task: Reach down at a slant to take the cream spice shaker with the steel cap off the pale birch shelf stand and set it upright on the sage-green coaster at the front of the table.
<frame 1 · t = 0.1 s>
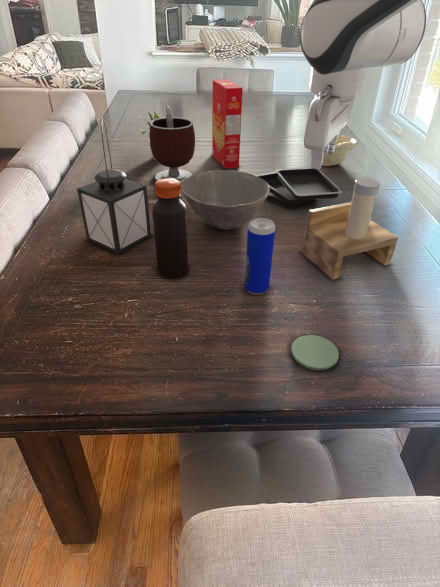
hand: (322, 160, 80), 24 cm above the table, tool pointing down, fingers open, 8 cm apart
mate gourd: (174, 177, 135), on the table
coaster: (314, 353, 71), on the table
lantern: (119, 238, 102), on the table
shelf: (345, 258, 96), on the table
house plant: (157, 158, 149), on the table
food packaging: (225, 161, 148), on the table
shaker: (355, 234, 91), point 7 cm above the table, touching shelf
beverage can: (256, 289, 86), on the table
bowl: (327, 163, 148), on the table
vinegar: (173, 270, 91), on the table
ceramic bowl: (223, 222, 110), on the table
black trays: (293, 195, 125), on the table
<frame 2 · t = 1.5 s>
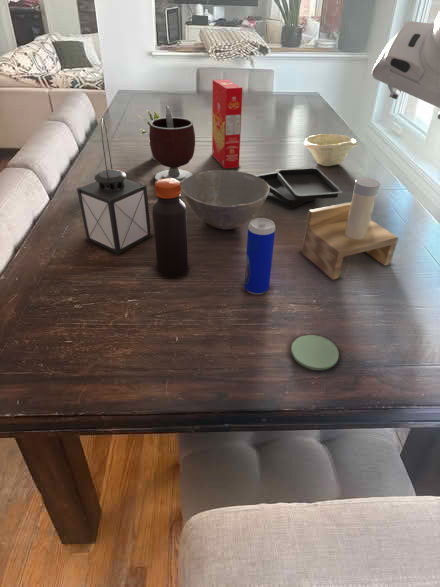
hand: (417, 105, 77), 33 cm above the table, tool tilted 50°, fingers open, 8 cm apart
nothing on the table moved.
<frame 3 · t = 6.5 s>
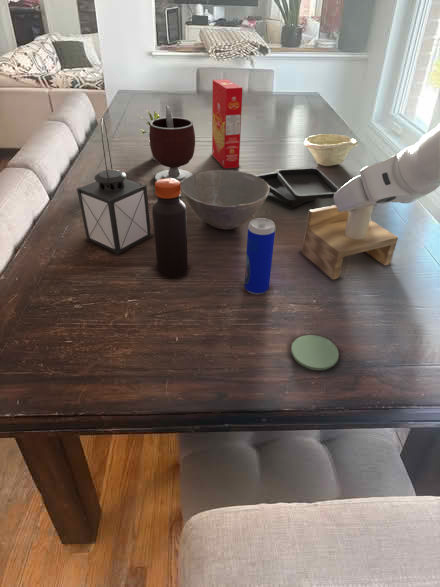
hand: (359, 205, 87), 14 cm above the table, tool tilted 45°, fingers closed on shaker, 4 cm apart
shaker: (355, 234, 91), point 7 cm above the table, touching gripper, shelf
everything else where it was.
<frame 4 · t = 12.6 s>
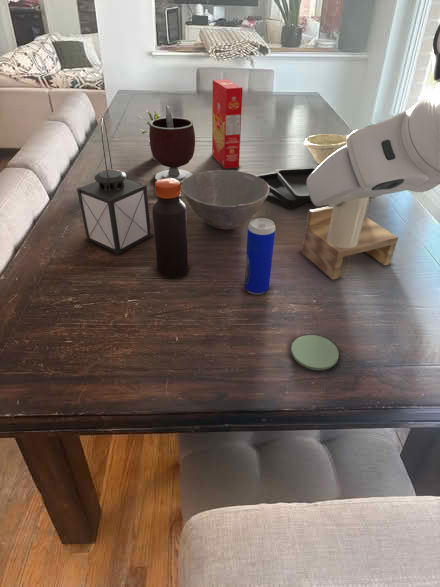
hand: (348, 198, 59), 26 cm above the table, tool tilted 45°, fingers closed on shaker, 4 cm apart
shaker: (342, 240, 63), point 20 cm above the table, touching gripper
everything else where it was.
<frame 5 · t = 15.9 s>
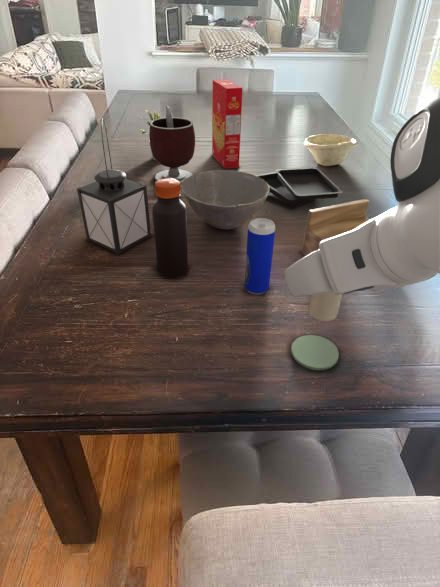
hand: (327, 275, 62), 16 cm above the table, tool tilted 45°, fingers closed on shaker, 4 cm apart
shaker: (322, 311, 65), point 9 cm above the table, touching gripper
everything else where it was.
when the fingers open (7 cm above the table, at t = 18.8 s): shaker stays where it is, resting on coaster.
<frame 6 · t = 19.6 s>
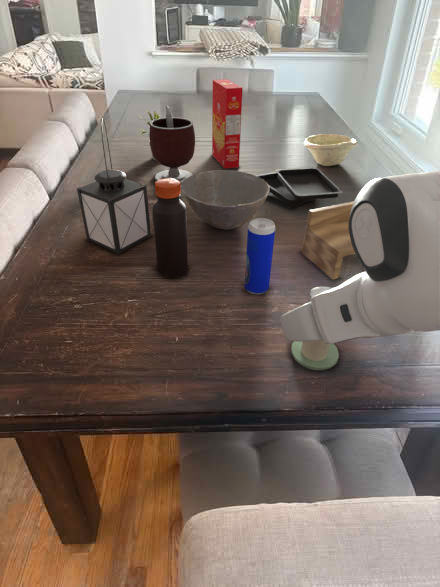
hand: (321, 315, 67), 8 cm above the table, tool tilted 45°, fingers open, 8 cm apart
shaker: (314, 351, 71), point 1 cm above the table, touching coaster
everything else where it was.
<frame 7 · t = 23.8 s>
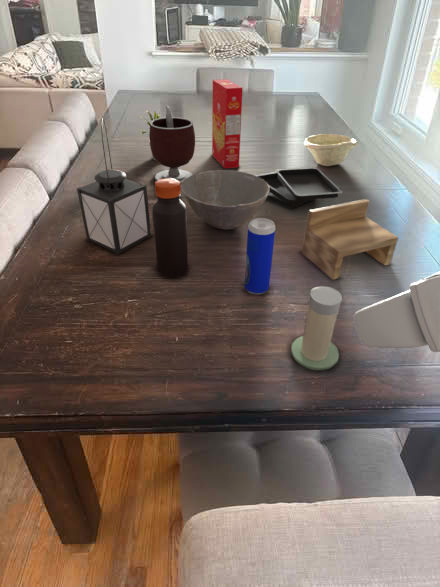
hand: (395, 312, 51), 19 cm above the table, tool tilted 45°, fingers open, 8 cm apart
nothing on the table moved.
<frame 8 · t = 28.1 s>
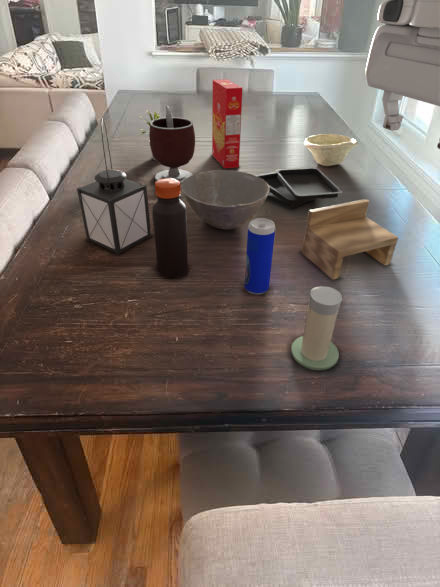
hand: (416, 138, 53), 35 cm above the table, tool pointing down, fingers open, 8 cm apart
nothing on the table moved.
at the end: shaker 0.2 cm off-centre on the coaster, point 0.6 cm above the coaster's base; shaker tilted 0°; shaker touching coaster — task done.
